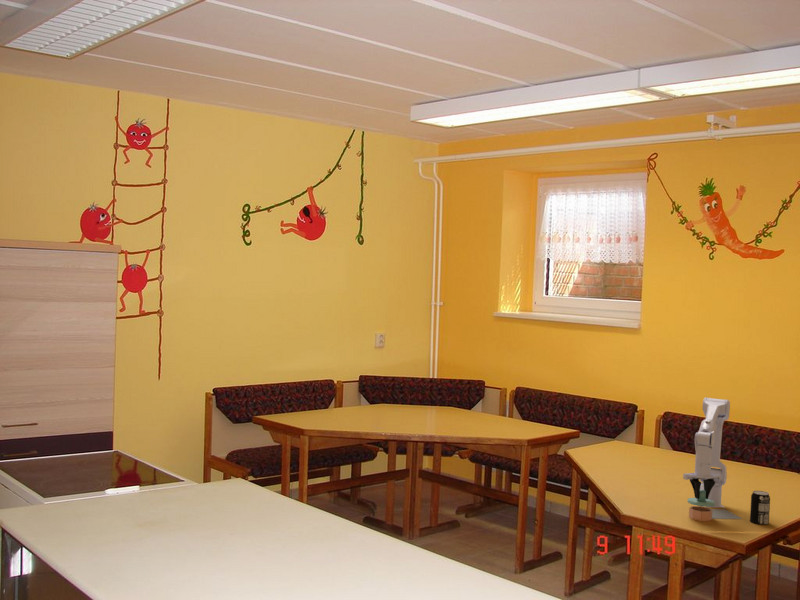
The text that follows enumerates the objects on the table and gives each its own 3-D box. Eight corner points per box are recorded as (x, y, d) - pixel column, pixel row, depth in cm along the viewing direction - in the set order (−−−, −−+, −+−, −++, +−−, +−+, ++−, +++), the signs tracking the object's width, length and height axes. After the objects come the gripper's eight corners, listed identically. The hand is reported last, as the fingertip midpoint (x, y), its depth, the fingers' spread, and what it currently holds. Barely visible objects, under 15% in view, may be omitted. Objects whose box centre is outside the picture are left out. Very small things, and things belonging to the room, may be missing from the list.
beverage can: (752, 520, 315) (754, 489, 315) (770, 523, 311) (772, 492, 311) (747, 523, 310) (749, 492, 310) (765, 527, 306) (767, 495, 306)
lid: (683, 499, 318) (684, 487, 318) (708, 500, 318) (709, 487, 318) (693, 506, 308) (694, 493, 308) (719, 506, 308) (720, 494, 308)
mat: (697, 510, 326) (697, 508, 326) (725, 510, 327) (725, 509, 327) (712, 520, 313) (712, 518, 313) (742, 520, 314) (742, 518, 314)
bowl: (686, 516, 317) (686, 505, 317) (705, 516, 318) (705, 506, 318) (695, 522, 309) (695, 511, 309) (714, 522, 310) (715, 511, 310)
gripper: (689, 465, 308) (687, 500, 309) (726, 465, 310) (724, 501, 310) (681, 460, 315) (679, 495, 316) (717, 461, 317) (715, 496, 317)
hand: (701, 498), depth 313 cm, fingers closed on lid, 3 cm apart
